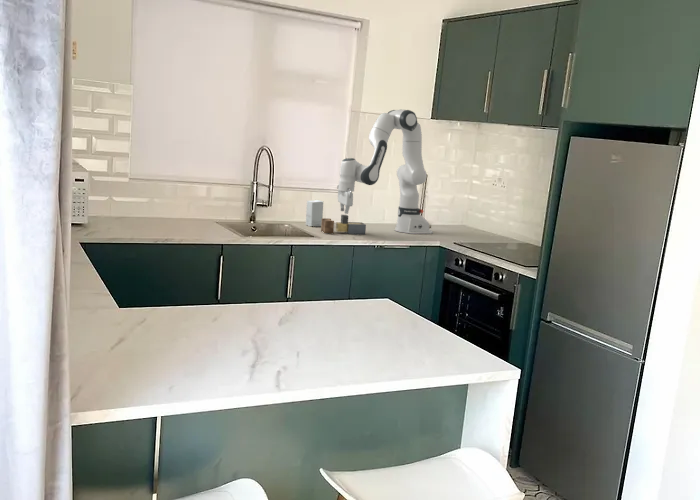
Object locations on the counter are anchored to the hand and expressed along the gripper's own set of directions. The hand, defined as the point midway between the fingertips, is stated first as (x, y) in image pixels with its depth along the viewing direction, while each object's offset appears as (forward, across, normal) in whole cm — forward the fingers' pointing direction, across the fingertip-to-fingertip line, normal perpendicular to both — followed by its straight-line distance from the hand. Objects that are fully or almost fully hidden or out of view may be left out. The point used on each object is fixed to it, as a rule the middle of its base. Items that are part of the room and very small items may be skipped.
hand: (344, 212), depth 395 cm
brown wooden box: (+12, 0, +9) cm, 15 cm away
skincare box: (+12, +22, +12) cm, 28 cm away
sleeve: (+11, 0, -7) cm, 13 cm away
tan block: (+12, 0, -4) cm, 12 cm away
